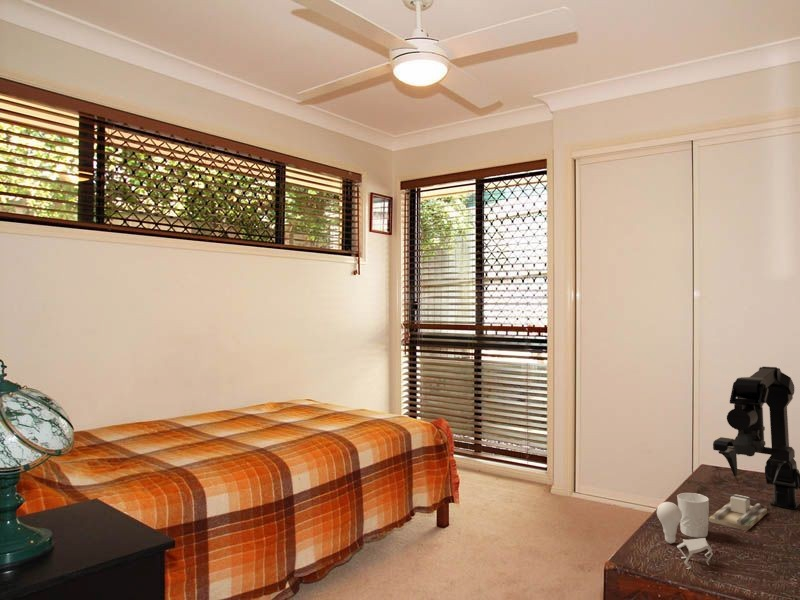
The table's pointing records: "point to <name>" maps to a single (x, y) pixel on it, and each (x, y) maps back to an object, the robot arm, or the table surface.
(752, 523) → the board
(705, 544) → the origami figure
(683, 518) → the white cup
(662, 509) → the lightbulb
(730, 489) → the table surface
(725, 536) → the table surface
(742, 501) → the tuning slider
